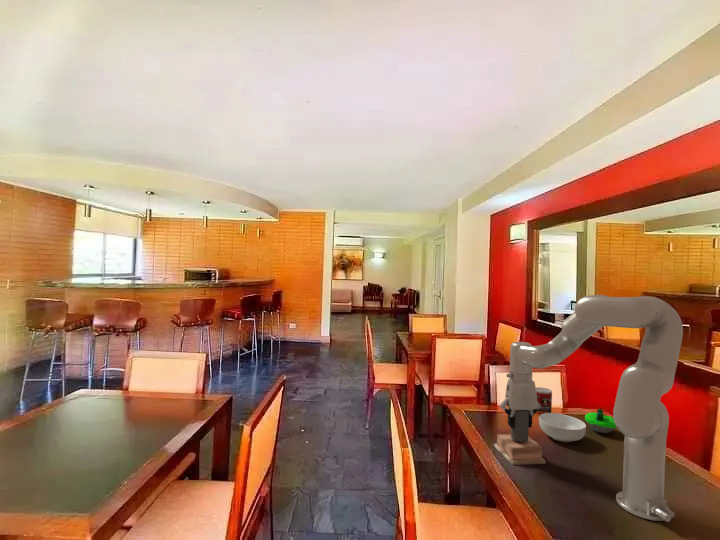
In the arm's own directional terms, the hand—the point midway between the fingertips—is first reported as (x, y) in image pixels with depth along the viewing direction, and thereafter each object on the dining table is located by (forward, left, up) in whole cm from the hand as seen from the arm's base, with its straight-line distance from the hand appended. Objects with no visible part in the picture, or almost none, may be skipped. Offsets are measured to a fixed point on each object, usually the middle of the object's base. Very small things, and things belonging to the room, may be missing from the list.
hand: (519, 426), depth 142 cm
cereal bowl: (+12, -25, -11) cm, 30 cm away
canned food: (+38, -33, -11) cm, 52 cm away
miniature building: (+17, -46, -11) cm, 50 cm away
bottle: (0, 0, -5) cm, 5 cm away
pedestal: (0, 0, -10) cm, 10 cm away
